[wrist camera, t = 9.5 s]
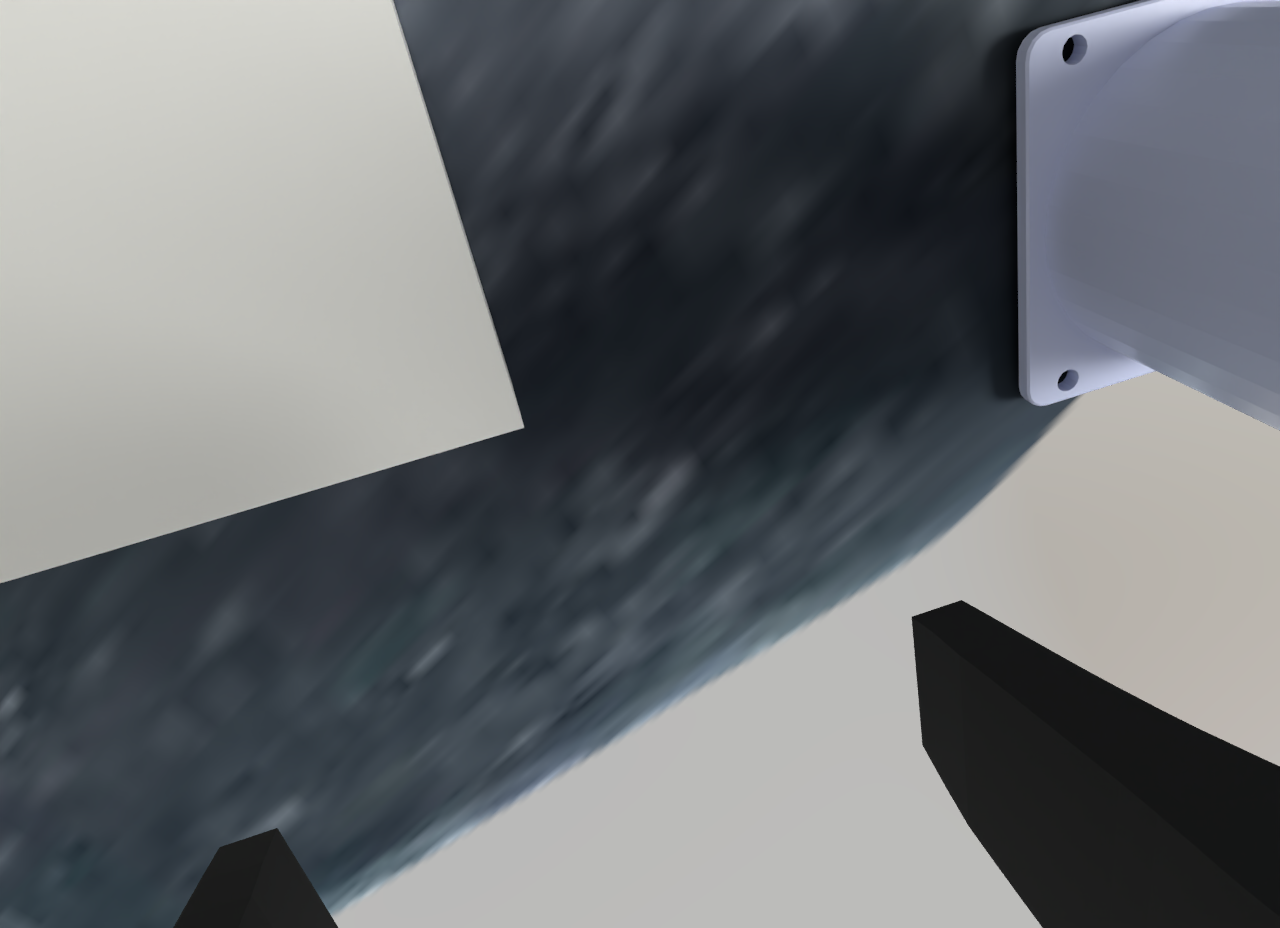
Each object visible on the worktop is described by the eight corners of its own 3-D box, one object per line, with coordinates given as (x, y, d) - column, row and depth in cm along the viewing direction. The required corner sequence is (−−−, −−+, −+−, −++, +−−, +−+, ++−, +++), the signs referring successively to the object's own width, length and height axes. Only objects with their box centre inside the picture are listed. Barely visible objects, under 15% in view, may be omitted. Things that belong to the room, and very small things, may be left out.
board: (310, -267, 13) (291, -321, 11) (510, 377, 18) (524, 427, 16) (-425, -109, 12) (-608, -134, 10) (0, 525, 17) (-59, 600, 15)
